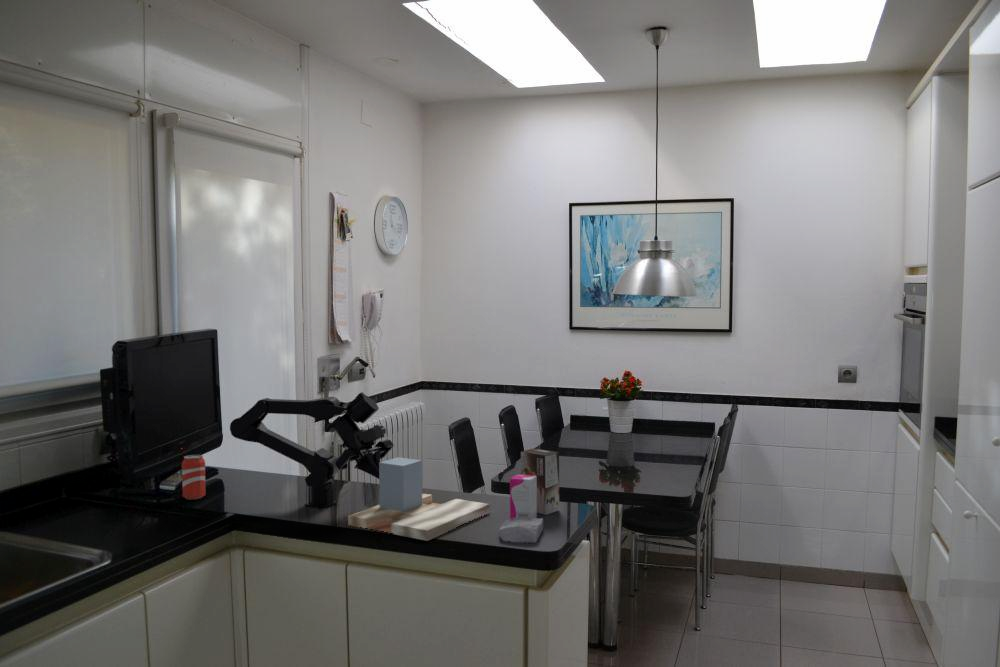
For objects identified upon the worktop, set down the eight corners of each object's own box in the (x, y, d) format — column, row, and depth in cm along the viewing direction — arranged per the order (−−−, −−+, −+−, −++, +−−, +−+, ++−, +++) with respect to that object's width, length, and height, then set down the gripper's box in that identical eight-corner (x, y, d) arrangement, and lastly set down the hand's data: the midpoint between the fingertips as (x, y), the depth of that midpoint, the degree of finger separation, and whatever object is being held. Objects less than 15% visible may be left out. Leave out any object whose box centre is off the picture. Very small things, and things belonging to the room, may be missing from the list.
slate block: (379, 507, 211) (379, 462, 210) (398, 500, 218) (398, 457, 217) (403, 511, 207) (403, 465, 206) (422, 504, 214) (421, 460, 213)
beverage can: (197, 493, 236) (196, 453, 235) (210, 497, 232) (209, 456, 231) (178, 498, 231) (177, 456, 230) (191, 501, 227) (190, 459, 226)
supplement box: (537, 518, 210) (537, 475, 209) (530, 524, 204) (530, 480, 204) (516, 516, 212) (516, 473, 211) (509, 522, 206) (509, 478, 206)
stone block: (498, 549, 190) (539, 543, 189) (494, 529, 191) (535, 523, 189) (508, 536, 202) (546, 531, 200) (504, 517, 202) (542, 512, 200)
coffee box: (560, 510, 217) (560, 452, 216) (545, 515, 213) (545, 455, 212) (534, 504, 224) (535, 447, 223) (519, 509, 219) (519, 451, 218)
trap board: (348, 525, 204) (348, 515, 204) (415, 500, 228) (415, 492, 227) (427, 540, 191) (427, 530, 191) (489, 513, 215) (489, 504, 215)
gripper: (343, 420, 209) (376, 466, 204) (388, 410, 225) (420, 453, 220) (321, 447, 214) (353, 493, 209) (366, 436, 230) (397, 478, 225)
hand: (382, 478), depth 215 cm, fingers closed
